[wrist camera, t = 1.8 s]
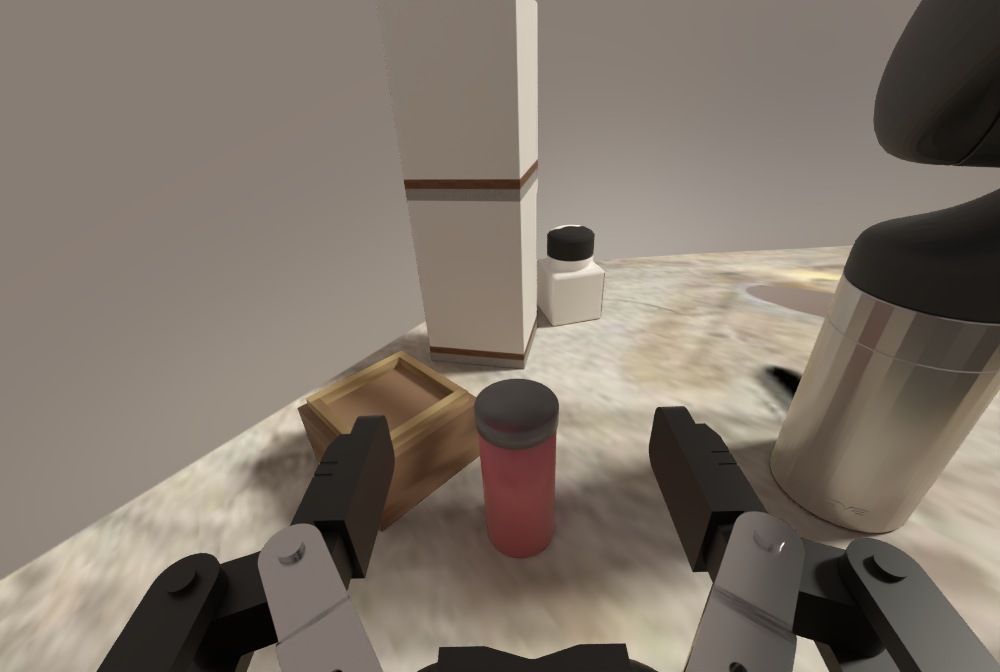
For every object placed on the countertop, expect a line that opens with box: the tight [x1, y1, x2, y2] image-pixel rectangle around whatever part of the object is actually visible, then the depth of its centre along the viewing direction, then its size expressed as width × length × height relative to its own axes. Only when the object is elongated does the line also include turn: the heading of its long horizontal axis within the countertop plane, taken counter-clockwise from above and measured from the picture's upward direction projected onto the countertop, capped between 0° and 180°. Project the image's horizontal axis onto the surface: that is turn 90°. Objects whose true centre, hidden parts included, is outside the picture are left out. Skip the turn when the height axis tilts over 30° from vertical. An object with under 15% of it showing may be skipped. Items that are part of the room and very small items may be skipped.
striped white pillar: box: [376, 0, 538, 369], centre depth 47 cm, size 11×11×35 cm
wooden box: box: [298, 350, 480, 532], centre depth 38 cm, size 11×11×7 cm
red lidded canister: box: [474, 379, 559, 558], centre depth 30 cm, size 5×5×12 cm
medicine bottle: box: [537, 225, 605, 326], centre depth 59 cm, size 7×7×12 cm
